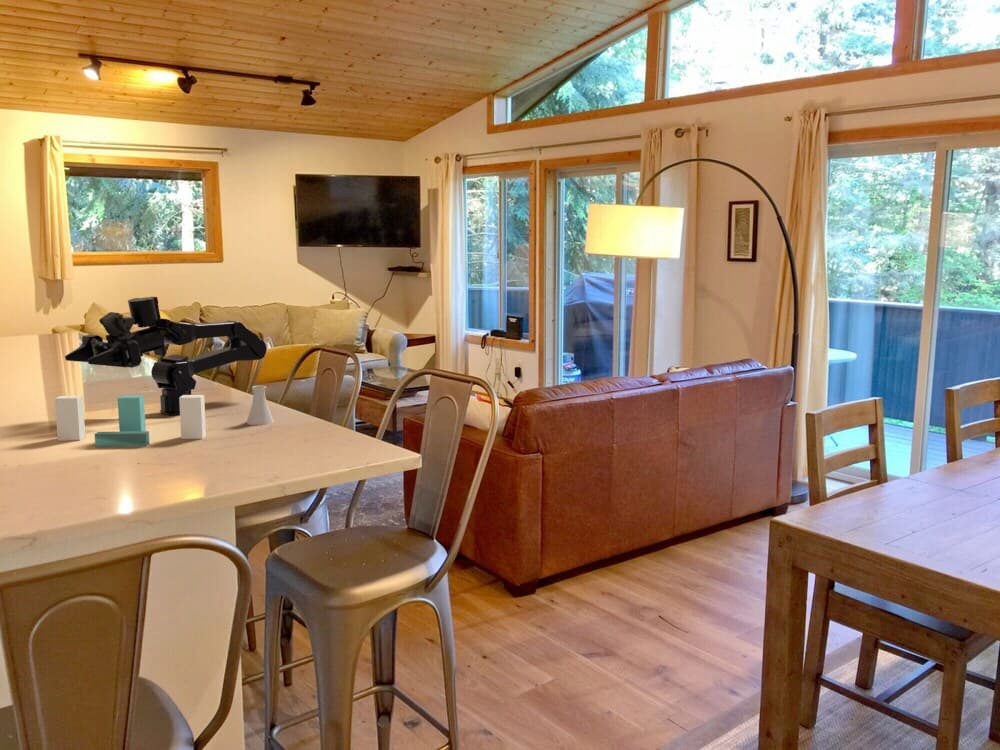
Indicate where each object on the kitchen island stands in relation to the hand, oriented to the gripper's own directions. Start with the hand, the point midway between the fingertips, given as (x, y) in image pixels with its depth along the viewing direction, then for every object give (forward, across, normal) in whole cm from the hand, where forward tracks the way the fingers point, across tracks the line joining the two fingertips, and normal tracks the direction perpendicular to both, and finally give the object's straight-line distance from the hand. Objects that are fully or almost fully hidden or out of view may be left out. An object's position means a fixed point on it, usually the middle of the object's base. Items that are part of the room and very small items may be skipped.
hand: (76, 360), depth 184 cm
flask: (-23, +31, +20) cm, 43 cm away
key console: (+6, +23, +16) cm, 29 cm away
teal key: (+3, +22, +14) cm, 26 cm away
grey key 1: (+11, +12, +13) cm, 21 cm away
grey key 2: (-4, +31, +16) cm, 35 cm away
